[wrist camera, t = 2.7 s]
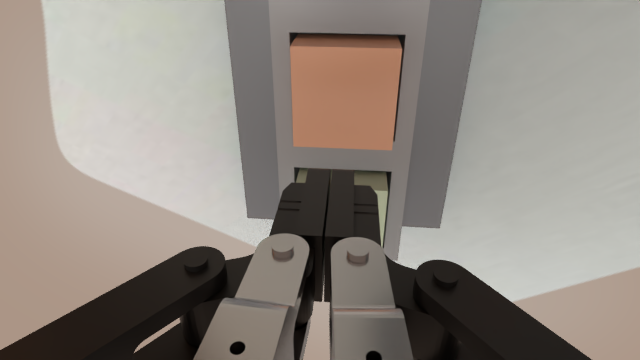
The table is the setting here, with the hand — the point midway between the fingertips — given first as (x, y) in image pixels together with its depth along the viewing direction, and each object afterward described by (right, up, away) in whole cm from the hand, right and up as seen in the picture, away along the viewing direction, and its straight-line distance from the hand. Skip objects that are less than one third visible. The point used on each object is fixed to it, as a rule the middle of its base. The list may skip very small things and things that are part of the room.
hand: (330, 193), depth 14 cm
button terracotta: (+1, +6, +10) cm, 12 cm away
